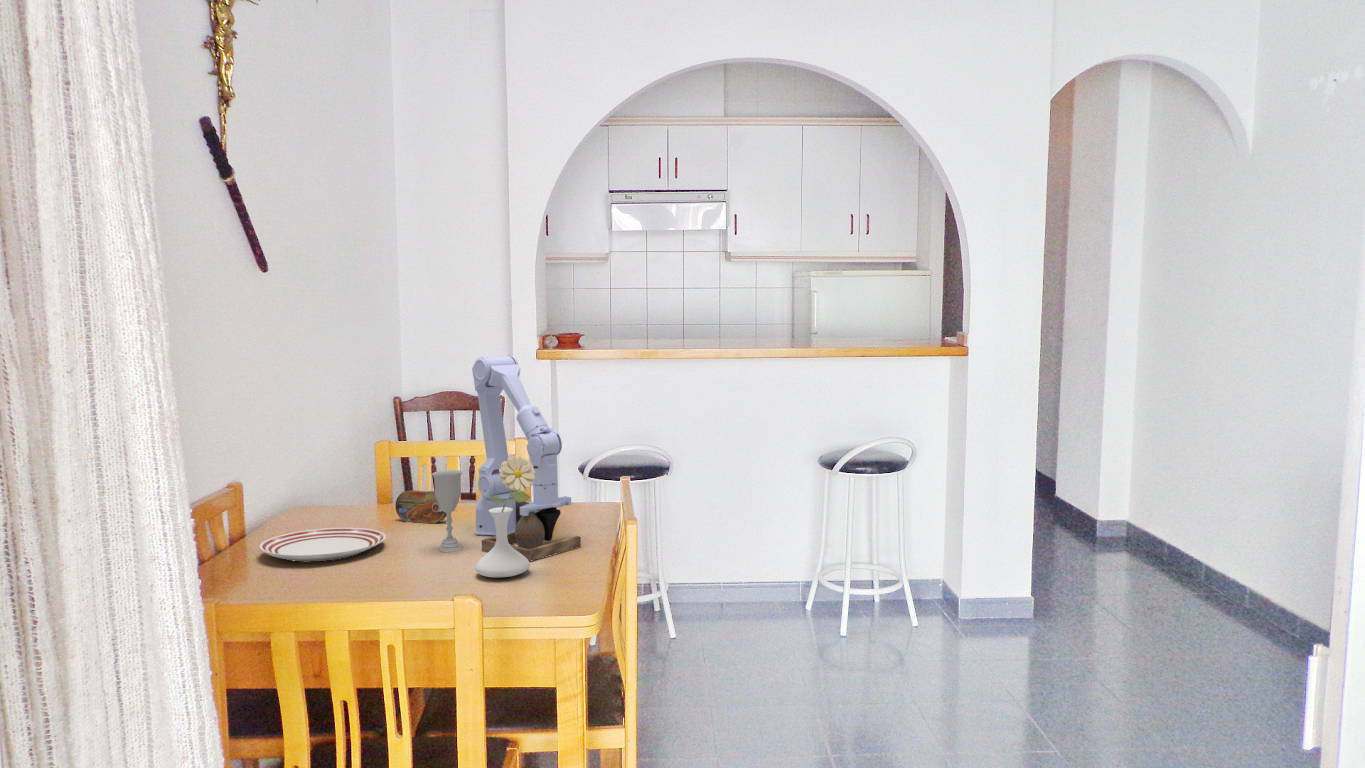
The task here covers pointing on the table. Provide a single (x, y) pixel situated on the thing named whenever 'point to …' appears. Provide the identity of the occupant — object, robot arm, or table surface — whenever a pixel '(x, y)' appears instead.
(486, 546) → the tray
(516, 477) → the flower in vase
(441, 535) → the table surface
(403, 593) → the table surface
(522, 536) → the vase
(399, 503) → the tin
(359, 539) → the dinner plate
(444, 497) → the chalice
